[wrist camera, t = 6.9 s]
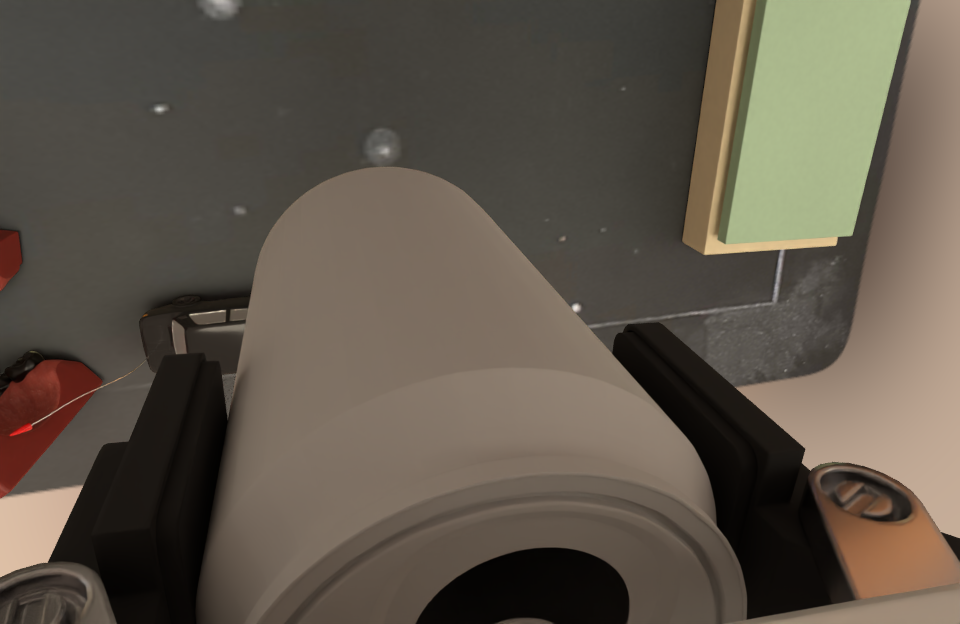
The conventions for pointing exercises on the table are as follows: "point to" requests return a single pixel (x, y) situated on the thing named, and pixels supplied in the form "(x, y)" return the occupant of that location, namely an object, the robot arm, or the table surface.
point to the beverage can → (444, 438)
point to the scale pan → (809, 117)
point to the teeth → (34, 392)
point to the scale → (723, 134)
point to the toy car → (190, 334)
